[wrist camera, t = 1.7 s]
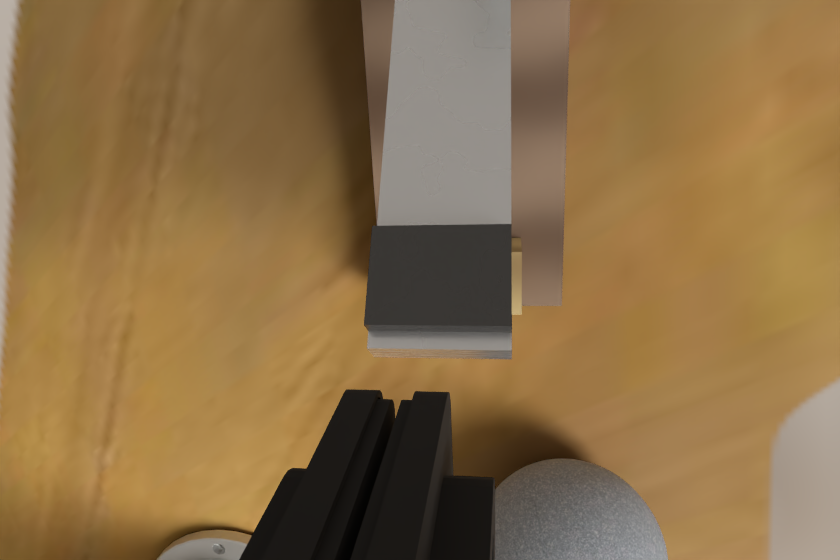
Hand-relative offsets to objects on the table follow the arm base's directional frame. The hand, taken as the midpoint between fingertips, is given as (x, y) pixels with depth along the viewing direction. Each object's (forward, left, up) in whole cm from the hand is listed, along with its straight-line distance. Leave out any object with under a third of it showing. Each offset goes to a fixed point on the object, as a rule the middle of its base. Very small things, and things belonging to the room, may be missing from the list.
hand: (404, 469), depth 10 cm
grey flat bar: (+5, 0, -14) cm, 14 cm away
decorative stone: (-19, -5, -24) cm, 31 cm away
